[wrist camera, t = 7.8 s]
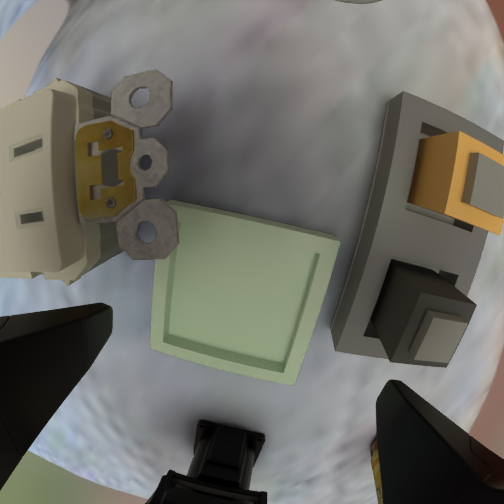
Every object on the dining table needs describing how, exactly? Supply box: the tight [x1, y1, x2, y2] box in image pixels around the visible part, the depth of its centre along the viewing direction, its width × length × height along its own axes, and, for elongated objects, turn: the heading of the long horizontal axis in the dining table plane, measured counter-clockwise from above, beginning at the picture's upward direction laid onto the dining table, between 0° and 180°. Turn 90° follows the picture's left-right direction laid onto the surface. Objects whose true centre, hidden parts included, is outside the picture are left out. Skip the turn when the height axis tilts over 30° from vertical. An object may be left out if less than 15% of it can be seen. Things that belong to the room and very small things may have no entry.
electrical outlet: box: [0, 70, 179, 286], centre depth 16 cm, size 12×28×10 cm, turn 92°
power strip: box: [330, 91, 504, 359], centre depth 16 cm, size 16×8×3 cm, turn 169°
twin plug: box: [370, 259, 476, 367], centre depth 15 cm, size 4×4×7 cm
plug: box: [407, 131, 504, 235], centre depth 13 cm, size 4×4×7 cm
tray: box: [150, 200, 340, 385], centre depth 19 cm, size 11×11×2 cm
